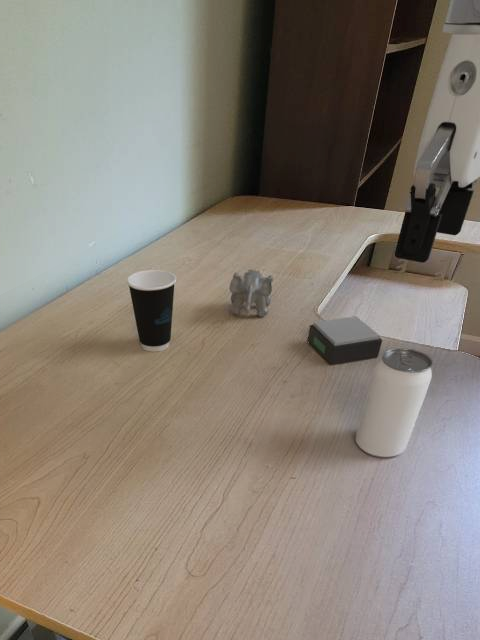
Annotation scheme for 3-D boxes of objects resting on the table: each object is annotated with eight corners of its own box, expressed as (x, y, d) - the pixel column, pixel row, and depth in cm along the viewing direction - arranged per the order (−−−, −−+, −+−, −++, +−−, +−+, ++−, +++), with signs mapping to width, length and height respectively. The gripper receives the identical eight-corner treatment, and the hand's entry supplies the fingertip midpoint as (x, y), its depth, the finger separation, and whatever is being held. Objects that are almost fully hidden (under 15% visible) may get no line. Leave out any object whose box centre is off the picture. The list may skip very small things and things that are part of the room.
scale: (352, 335, 90) (357, 314, 88) (377, 357, 85) (383, 336, 82) (306, 342, 89) (309, 321, 86) (329, 365, 83) (333, 344, 81)
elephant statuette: (266, 301, 101) (270, 259, 96) (284, 327, 93) (289, 283, 88) (220, 305, 101) (221, 263, 95) (234, 332, 92) (236, 287, 87)
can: (351, 453, 67) (375, 368, 58) (357, 426, 71) (380, 343, 63) (404, 463, 65) (436, 377, 57) (406, 435, 70) (437, 350, 61)
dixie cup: (138, 333, 93) (133, 268, 85) (181, 336, 92) (180, 270, 84) (127, 354, 88) (120, 286, 80) (172, 357, 86) (170, 289, 78)
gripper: (524, 8, 34) (436, 279, 47) (573, 2, 44) (489, 229, 56) (412, 11, 38) (358, 263, 50) (480, 4, 47) (420, 218, 59)
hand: (427, 245), depth 53 cm, fingers open, 9 cm apart
